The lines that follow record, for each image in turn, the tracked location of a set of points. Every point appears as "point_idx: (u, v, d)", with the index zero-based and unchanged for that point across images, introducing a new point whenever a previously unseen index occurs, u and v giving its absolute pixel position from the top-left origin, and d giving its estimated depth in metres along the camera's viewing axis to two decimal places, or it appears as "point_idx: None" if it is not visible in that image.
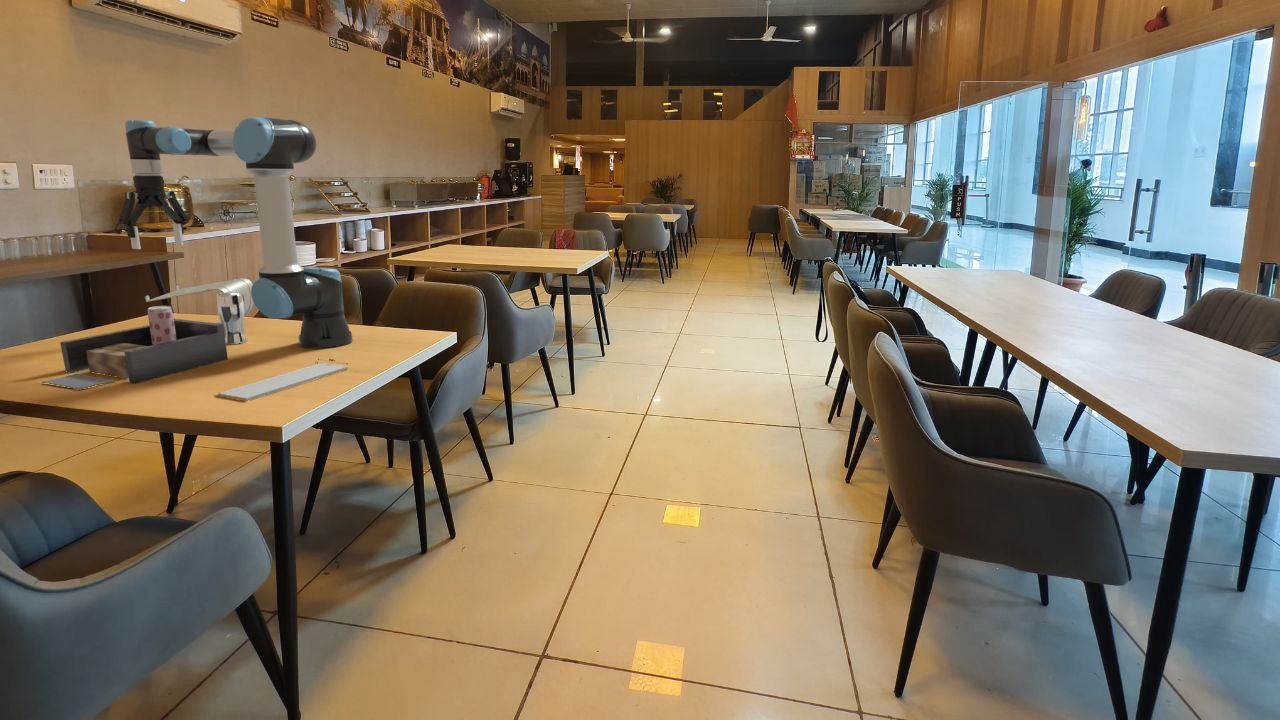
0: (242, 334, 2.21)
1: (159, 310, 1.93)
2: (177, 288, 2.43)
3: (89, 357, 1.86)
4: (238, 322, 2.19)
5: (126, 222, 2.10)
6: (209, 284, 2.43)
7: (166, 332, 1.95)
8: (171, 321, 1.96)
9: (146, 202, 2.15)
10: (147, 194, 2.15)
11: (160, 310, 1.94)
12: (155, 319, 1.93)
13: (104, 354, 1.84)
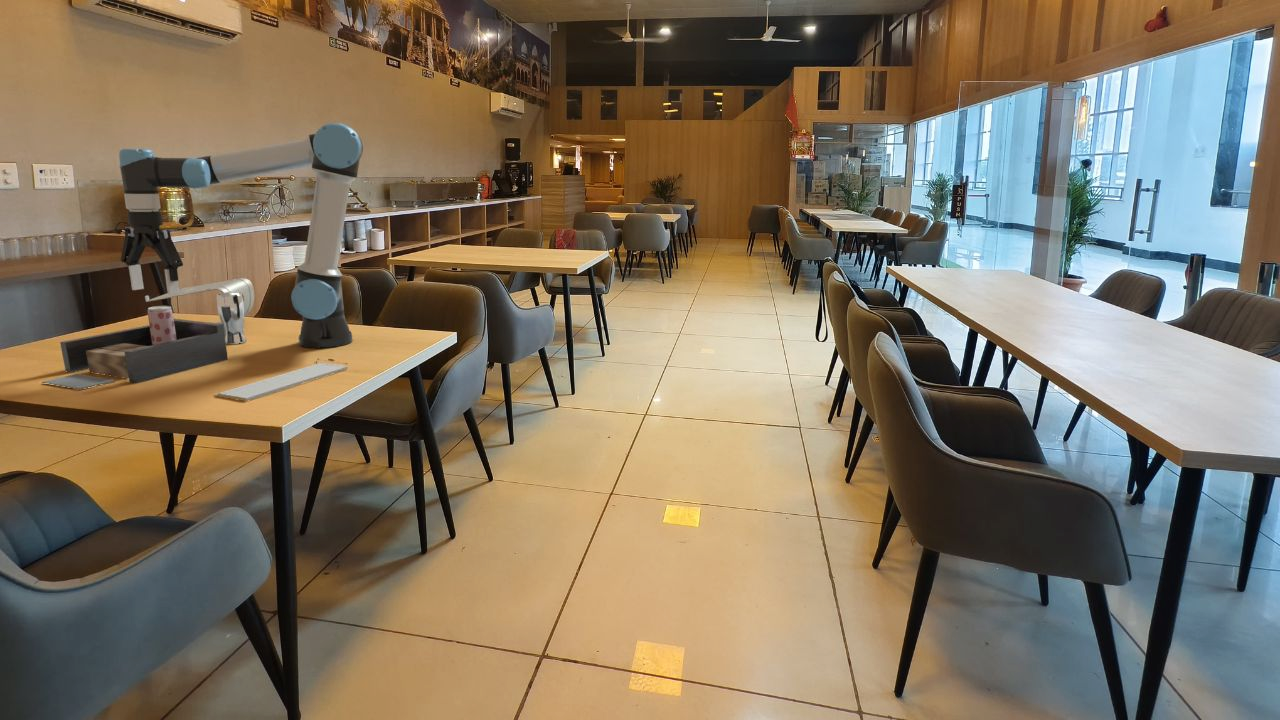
0: (242, 334, 2.21)
1: (159, 310, 1.93)
2: None
3: (89, 357, 1.86)
4: (238, 322, 2.19)
5: (122, 260, 1.94)
6: (209, 284, 2.43)
7: (166, 332, 1.95)
8: (171, 321, 1.96)
9: (134, 240, 1.90)
10: (138, 232, 1.90)
11: (160, 310, 1.94)
12: (155, 319, 1.93)
13: (104, 354, 1.84)
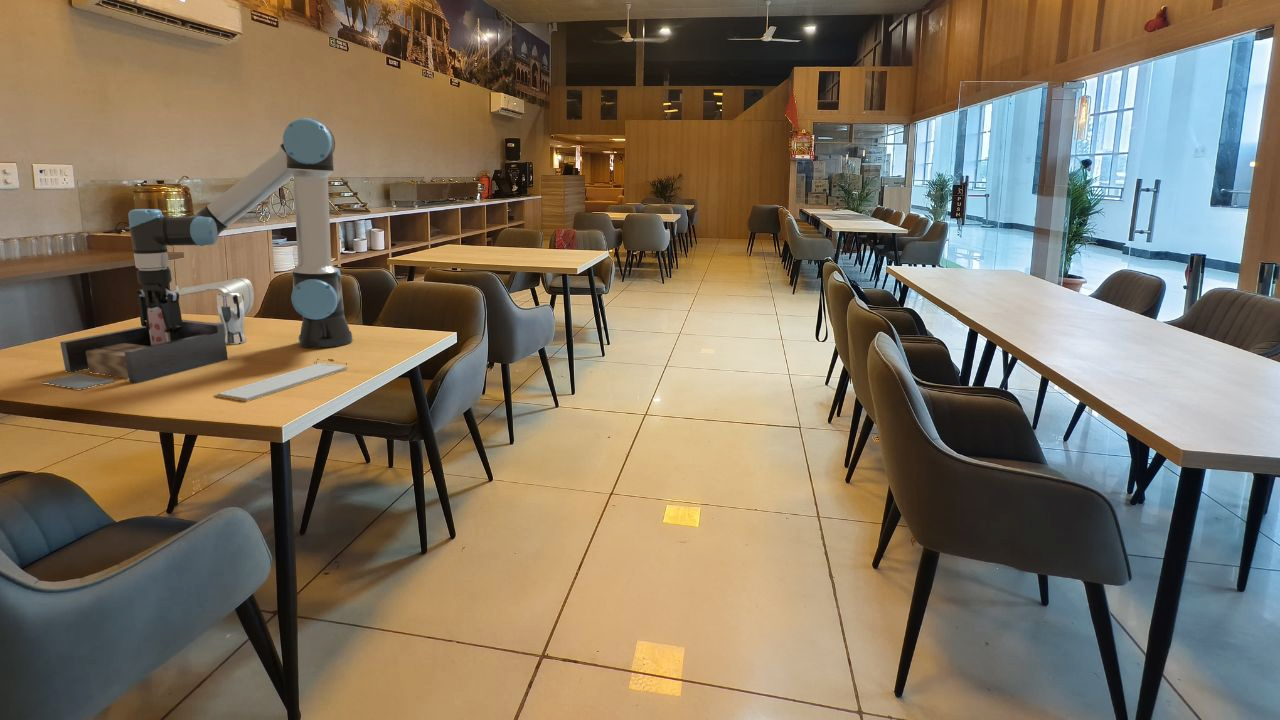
0: (242, 334, 2.21)
1: (159, 310, 1.93)
2: (176, 288, 2.43)
3: (88, 357, 1.86)
4: (238, 322, 2.19)
5: (142, 323, 1.97)
6: (208, 284, 2.43)
7: None
8: None
9: (146, 300, 1.94)
10: (147, 287, 1.94)
11: (160, 310, 1.94)
12: (155, 319, 1.93)
13: (104, 354, 1.84)
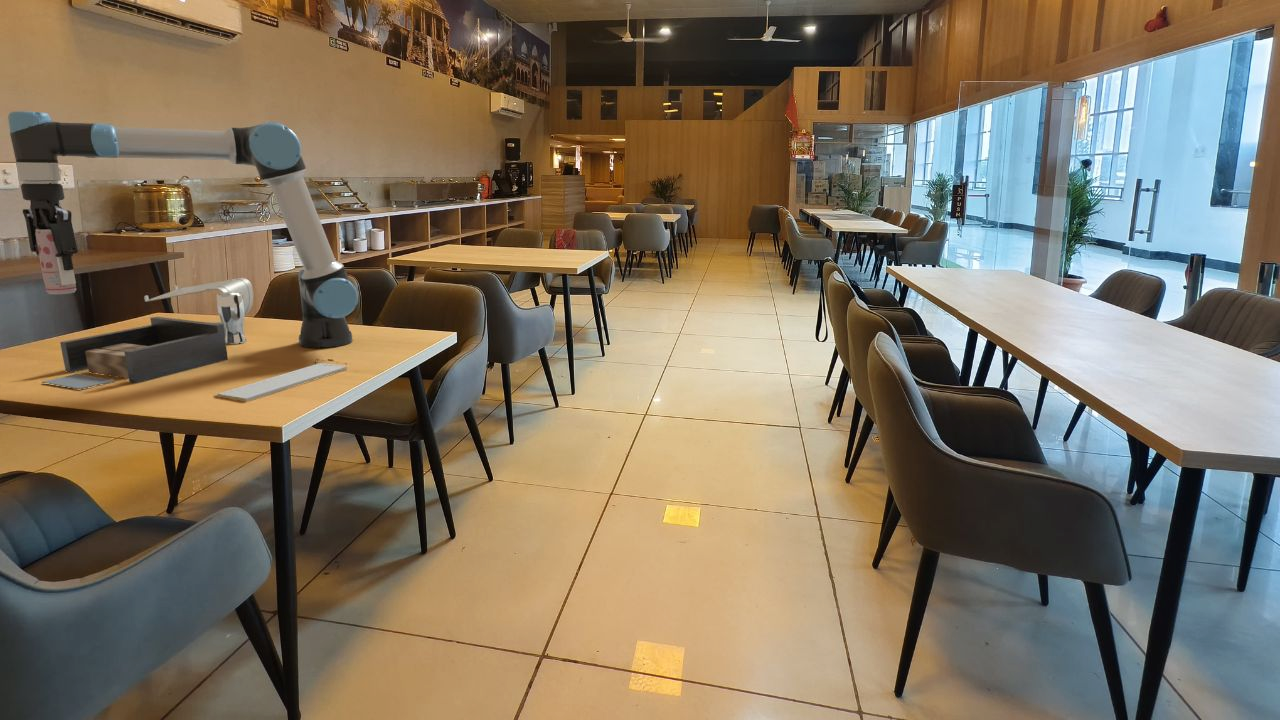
0: (242, 334, 2.21)
1: (48, 231, 1.67)
2: (176, 288, 2.43)
3: (88, 357, 1.86)
4: (238, 322, 2.19)
5: (32, 248, 1.71)
6: (208, 284, 2.43)
7: None
8: None
9: (34, 219, 1.68)
10: (34, 205, 1.67)
11: (50, 231, 1.67)
12: (44, 241, 1.67)
13: (104, 354, 1.84)
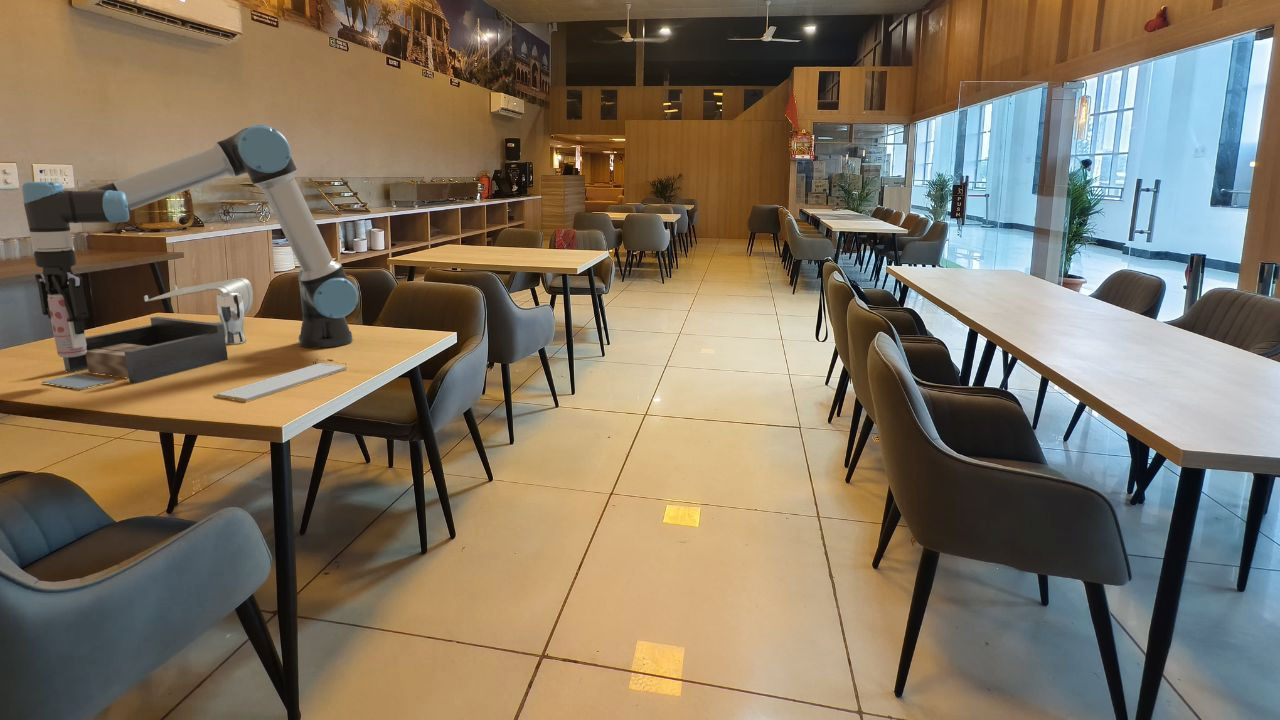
0: (242, 334, 2.21)
1: (60, 296, 1.71)
2: (175, 288, 2.43)
3: (88, 357, 1.86)
4: (238, 322, 2.19)
5: (44, 312, 1.75)
6: (207, 284, 2.43)
7: None
8: None
9: (46, 285, 1.72)
10: (47, 271, 1.71)
11: (61, 296, 1.71)
12: (56, 307, 1.71)
13: (104, 354, 1.84)
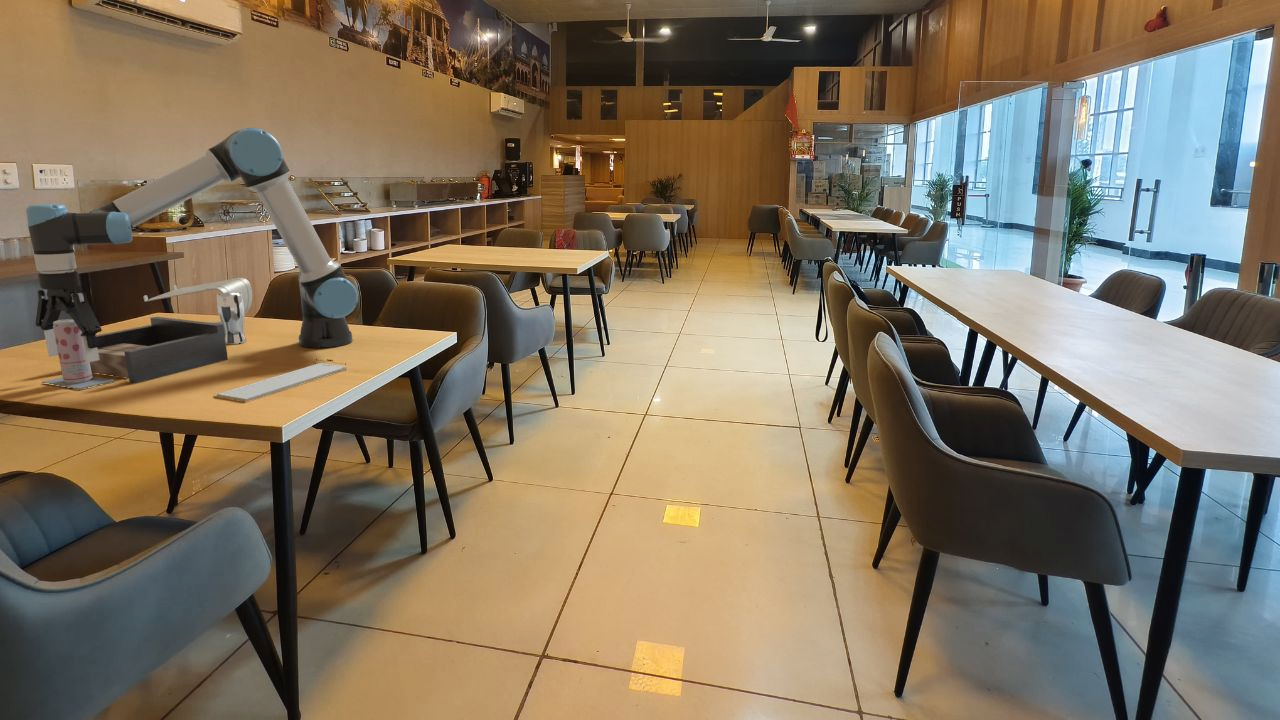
0: (242, 334, 2.21)
1: (65, 324, 1.72)
2: (175, 288, 2.43)
3: None
4: (238, 322, 2.19)
5: (37, 324, 1.77)
6: (207, 284, 2.44)
7: (75, 348, 1.74)
8: None
9: (48, 304, 1.73)
10: (52, 294, 1.73)
11: (67, 324, 1.73)
12: (62, 334, 1.73)
13: (105, 354, 1.84)
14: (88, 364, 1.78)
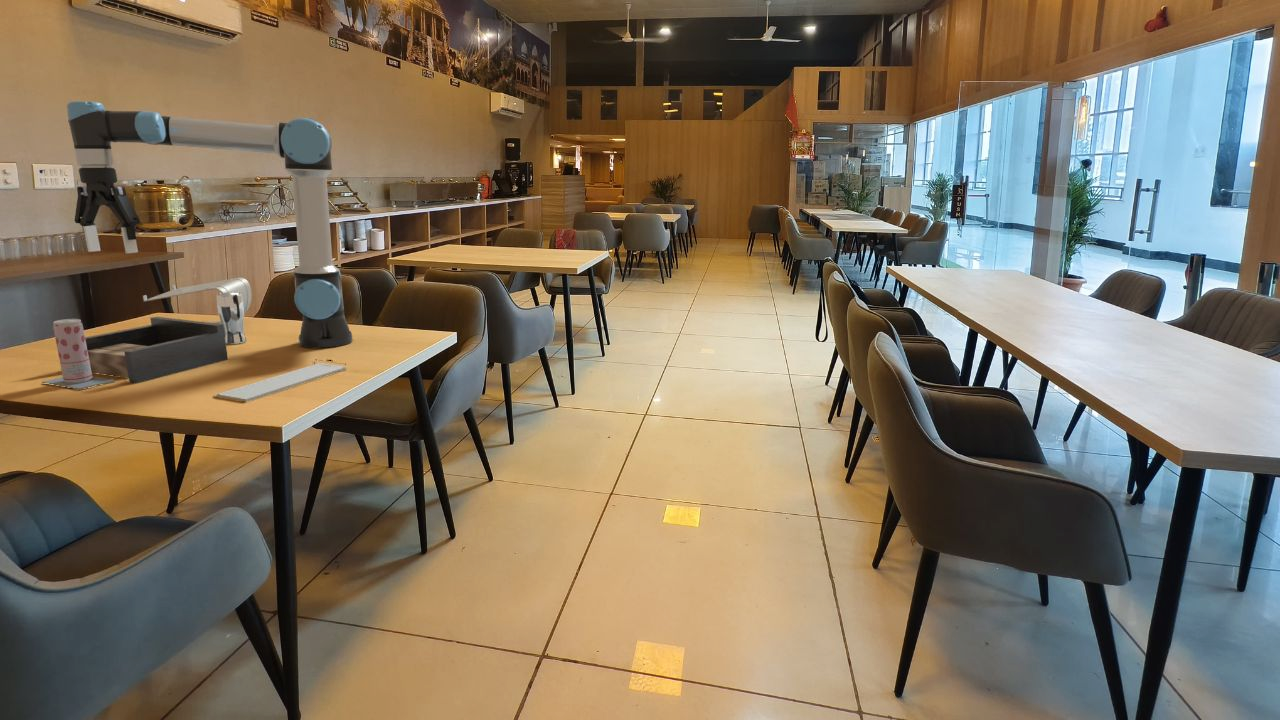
0: (242, 334, 2.21)
1: (66, 324, 1.73)
2: (174, 288, 2.44)
3: None
4: (238, 322, 2.19)
5: (76, 220, 1.87)
6: None
7: (75, 348, 1.74)
8: (81, 336, 1.75)
9: (88, 199, 1.83)
10: (91, 190, 1.83)
11: (67, 324, 1.73)
12: (62, 334, 1.73)
13: (105, 354, 1.84)
14: (88, 364, 1.78)
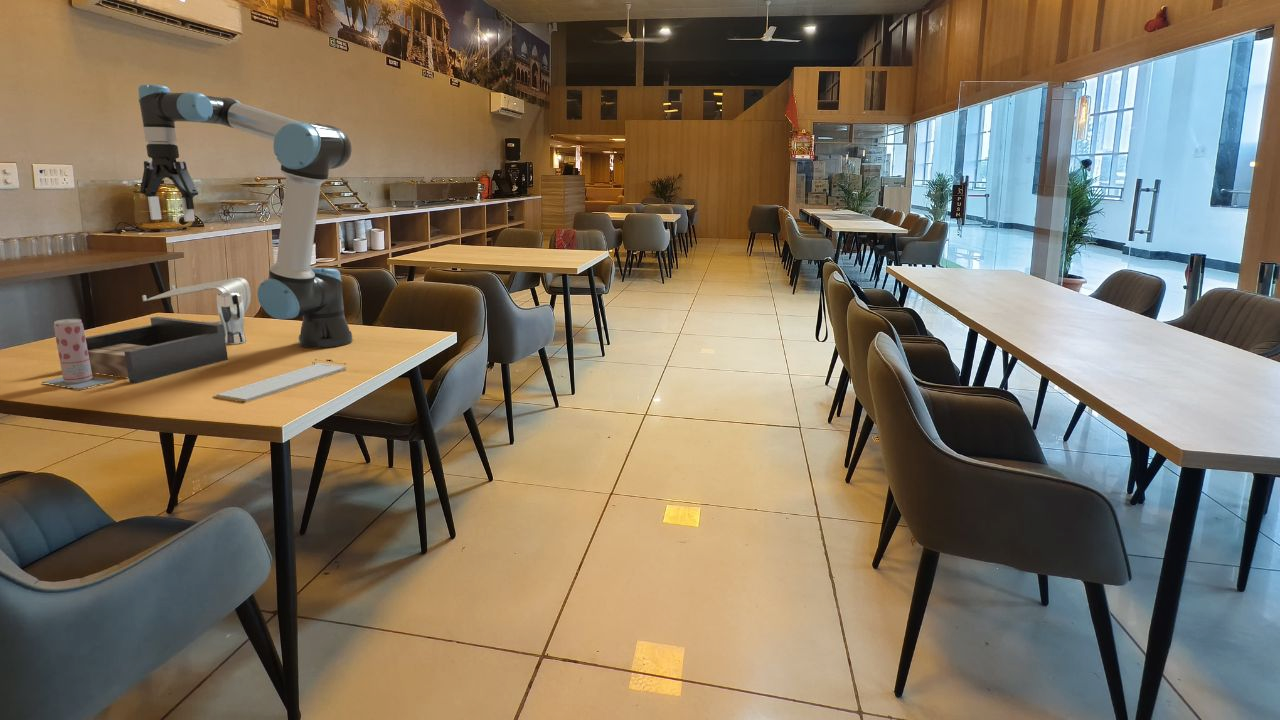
0: (242, 334, 2.21)
1: (66, 324, 1.73)
2: (173, 287, 2.44)
3: None
4: (238, 322, 2.19)
5: (141, 191, 2.10)
6: (205, 283, 2.44)
7: (75, 348, 1.74)
8: (81, 336, 1.76)
9: (153, 172, 2.06)
10: (156, 164, 2.06)
11: (67, 324, 1.73)
12: (62, 334, 1.73)
13: (105, 354, 1.84)
14: (88, 364, 1.78)
